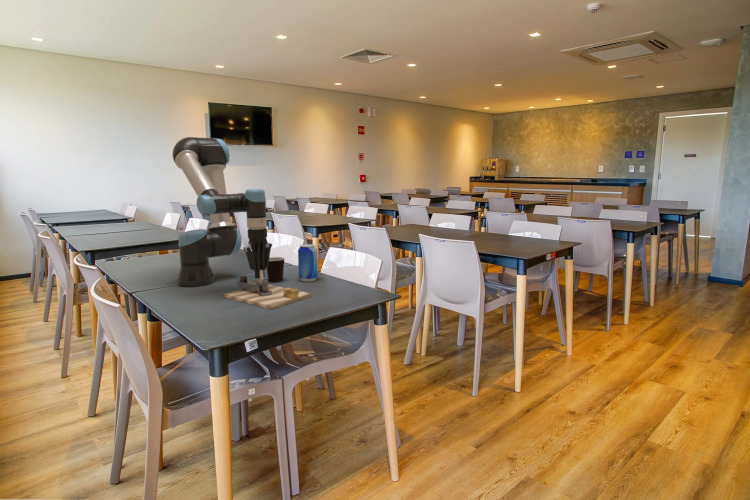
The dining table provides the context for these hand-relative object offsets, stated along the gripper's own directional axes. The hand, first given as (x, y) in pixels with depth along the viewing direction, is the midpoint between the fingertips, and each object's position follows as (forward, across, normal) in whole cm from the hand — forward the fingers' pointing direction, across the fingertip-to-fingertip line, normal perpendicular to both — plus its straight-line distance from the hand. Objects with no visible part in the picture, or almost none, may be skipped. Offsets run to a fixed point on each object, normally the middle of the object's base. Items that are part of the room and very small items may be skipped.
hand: (260, 285), depth 177 cm
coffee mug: (+3, +18, +10) cm, 21 cm away
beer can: (+3, +26, -2) cm, 26 cm away
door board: (+3, -4, -7) cm, 9 cm away
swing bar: (+1, -4, +1) cm, 4 cm away
